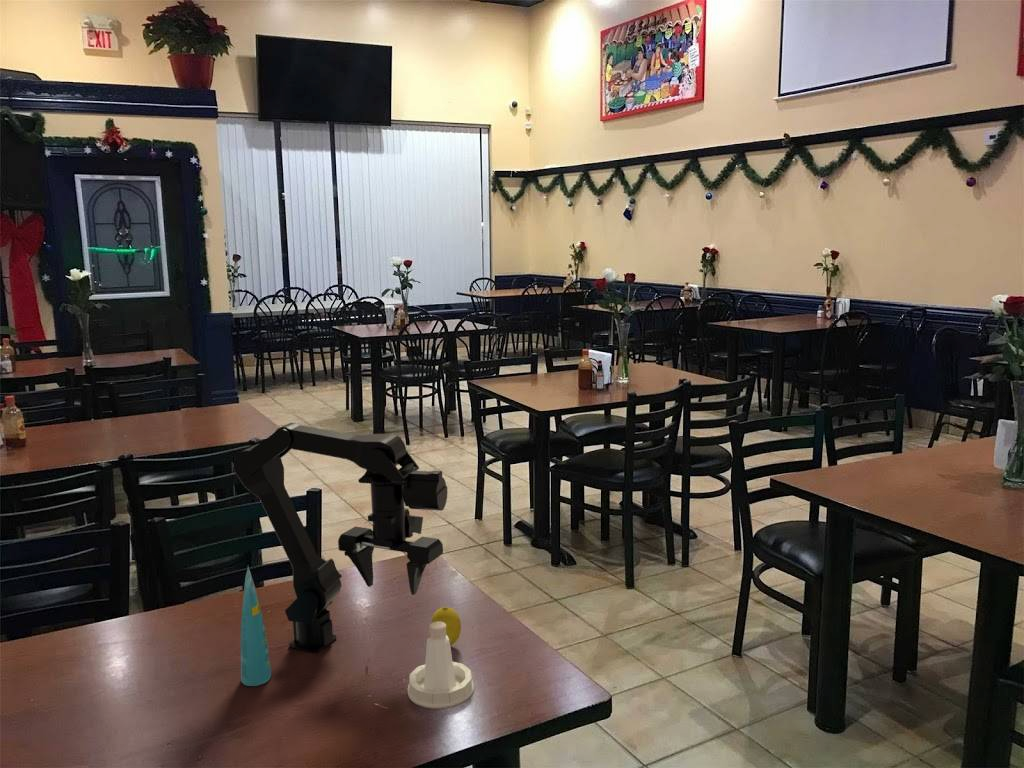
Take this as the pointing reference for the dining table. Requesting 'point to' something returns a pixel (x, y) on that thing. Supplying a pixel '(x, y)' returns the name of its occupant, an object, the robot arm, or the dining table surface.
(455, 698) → the ring dish
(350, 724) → the dining table surface
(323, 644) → the robot arm
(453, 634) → the lemon
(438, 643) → the pepper shaker
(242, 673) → the tube
